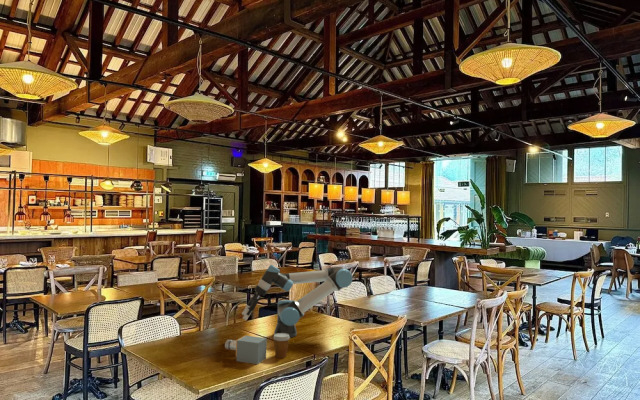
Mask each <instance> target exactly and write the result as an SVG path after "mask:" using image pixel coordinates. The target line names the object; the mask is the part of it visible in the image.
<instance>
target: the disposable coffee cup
mask: <svg viewBox="0 0 640 400" xmlns="http://www.w3.org/2000/svg"><path fill="white" fill-rule="evenodd" d="M272 338H273V343H274V344H273V345H274V354H275V357H276V358H279V359H283V358H286V357H287V353H288V349H289V348H288V347H289V343H290V342H289V341H290V339H291V337H289V334H286V333H277V334H274V333H273V337H272Z"/></svg>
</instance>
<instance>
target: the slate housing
mask: <svg viewBox="0 0 640 400" xmlns="http://www.w3.org/2000/svg"><path fill="white" fill-rule="evenodd" d="M235 341H236V350H235V359H236V362H240V363H246V364H254V365H259V364H260V363H262V362H263V361H265V360H266V359H267V345H268V344H267V342H268V341H267V337H262V336H261V337H260V336H258V337H257V336H253V335H243V336H242V337H240V338H237V339H236V340H235Z"/></svg>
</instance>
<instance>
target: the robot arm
mask: <svg viewBox="0 0 640 400" xmlns="http://www.w3.org/2000/svg"><path fill="white" fill-rule="evenodd" d="M258 281H259V282H258V283H257V284H256V285H255V286H256V287H254V291H255V292H254V294H253V295H252V297H251V298H250V299H249V300H248V302H247V305H246V306H245V308H244V309H243V311H242V312H241V315H242V319H243V320H245V321H247V320H248V318H249V317H250V316H251V314H252V312H253V311H254V310H255V309H256V306H257V305H258V303H259V301H260V300H261V296H263V297H264V296H265V295H266V294H267V292H268V290H269V289H270V288H271V286H272V284H274V285H275V286H277V287H278V288H280V289H281V290H283V291H285V292H289V291H291V289H292V287H293V285H300V284H308V283H311V284H312V283H319V282H321V284H319V285H318V286H316V288H314V289H313V290H311V291H310V292H308V293H307V294H305V295H303V296H302V297H301V298H299V299H298V300H292V299H290V300H289V299H282V300H281V299H280V300H278V301H277V316H276V317H277V323H276V326H275V327H274V328H275V329H274V331H273V335H274V334H277V333H286V334H289V337H290V338H294V337H297V334H298V332H297V327H296V324H297V323H298V322H299V320H300V319H301V318H302V317H304V316H305V313H306V312H307V311H308V310H310V309H311V308H312V307H314V306H315V305H317V304H319V302H322V300H324V299H325V298H326V297H328V296H330V295H331V294H332V293H334V292H339V291H340V290H342V289H345V288H348V287H350V286H351V285H352V283H353V274H352V272H351V271H350V270H349V269H347V268H345V267H342V266H334V267H326V268H325V269H323V270H312V271H310V270H309V271H300V272H290V273H281V270H280V269H279V268H277V267H276V266H274V265H272V264H270V265H269V266H268V267H267V269H266V271H265V272H264V273H263V275H262V277H261V278H260V279H259V280H258Z"/></svg>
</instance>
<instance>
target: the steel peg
mask: <svg viewBox="0 0 640 400" xmlns="http://www.w3.org/2000/svg"><path fill="white" fill-rule="evenodd" d="M224 348H225V349H226V350H232V351H236V340H235V339H234V340H233V339H227V340H226V341H225V343H224Z"/></svg>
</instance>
